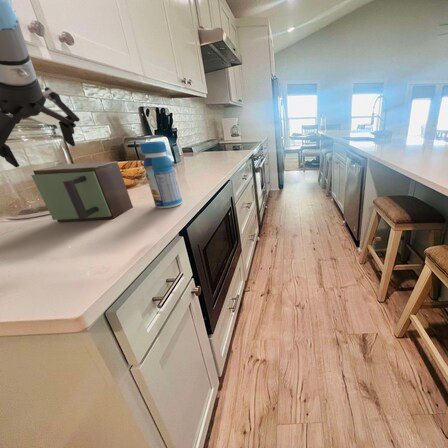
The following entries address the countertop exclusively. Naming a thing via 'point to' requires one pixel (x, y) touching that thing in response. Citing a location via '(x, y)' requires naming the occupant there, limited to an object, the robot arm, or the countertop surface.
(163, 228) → the countertop surface
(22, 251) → the countertop surface
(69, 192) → the sliding door
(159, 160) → the beverage bottle
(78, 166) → the cabinet
